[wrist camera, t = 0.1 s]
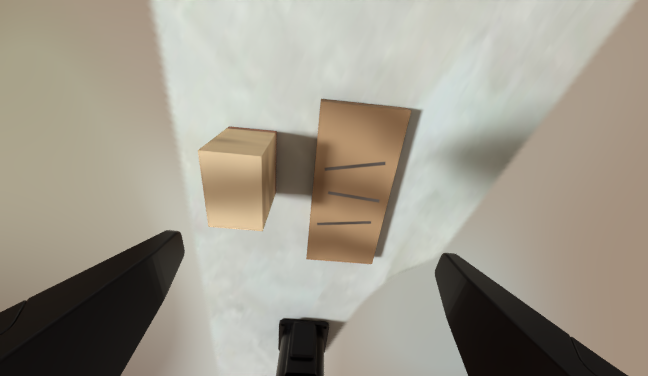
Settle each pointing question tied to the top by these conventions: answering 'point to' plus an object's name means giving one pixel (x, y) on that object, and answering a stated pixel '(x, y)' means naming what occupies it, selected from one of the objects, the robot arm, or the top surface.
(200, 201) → the top surface
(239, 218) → the block
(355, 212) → the board
